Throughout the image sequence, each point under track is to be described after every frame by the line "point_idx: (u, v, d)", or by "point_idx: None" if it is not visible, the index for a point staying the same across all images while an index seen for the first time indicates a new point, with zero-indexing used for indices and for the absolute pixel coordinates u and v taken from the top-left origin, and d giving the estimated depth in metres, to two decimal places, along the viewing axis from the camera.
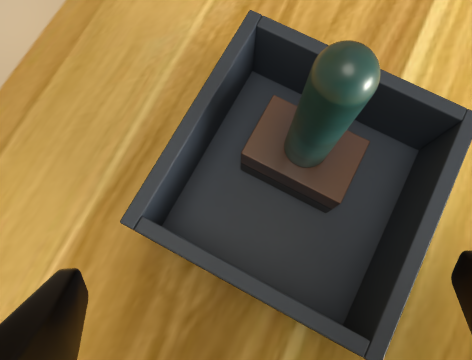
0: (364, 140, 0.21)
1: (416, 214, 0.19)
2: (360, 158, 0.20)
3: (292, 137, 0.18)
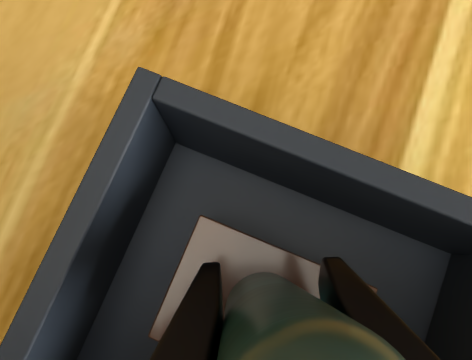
0: None
1: None
2: None
3: None
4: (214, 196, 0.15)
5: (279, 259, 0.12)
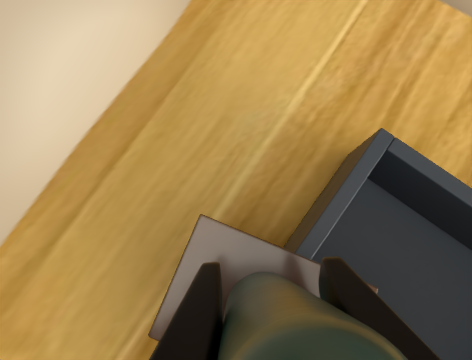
0: None
1: None
2: None
3: None
4: (375, 212, 0.22)
5: (279, 258, 0.12)
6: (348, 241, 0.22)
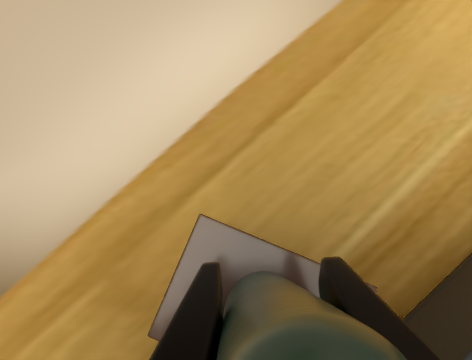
0: None
1: None
2: None
3: None
4: None
5: (279, 258, 0.12)
6: None
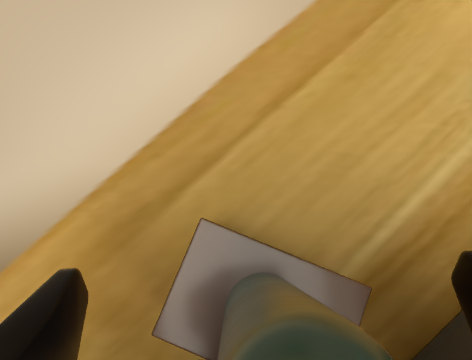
0: (363, 286, 0.12)
1: None
2: (358, 323, 0.12)
3: None
4: None
5: (277, 260, 0.12)
6: None
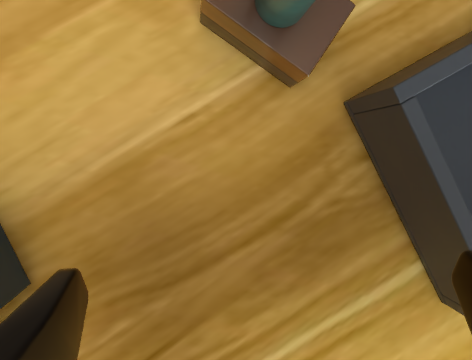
0: (350, 2, 0.17)
1: None
2: (340, 24, 0.17)
3: None
4: None
5: None
6: None
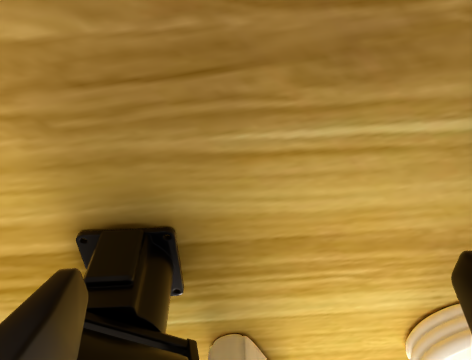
0: None
1: None
2: None
3: None
4: None
5: None
6: None
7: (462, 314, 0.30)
